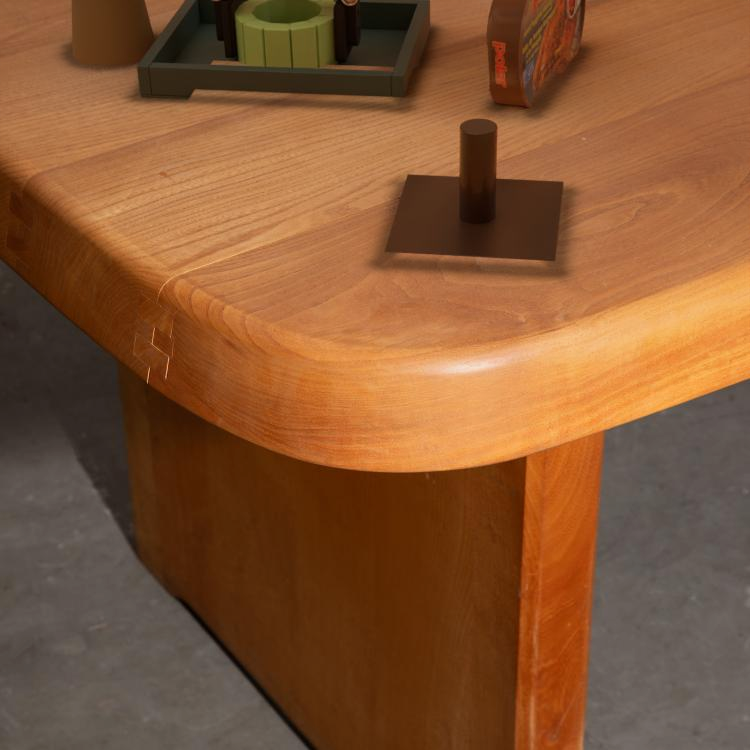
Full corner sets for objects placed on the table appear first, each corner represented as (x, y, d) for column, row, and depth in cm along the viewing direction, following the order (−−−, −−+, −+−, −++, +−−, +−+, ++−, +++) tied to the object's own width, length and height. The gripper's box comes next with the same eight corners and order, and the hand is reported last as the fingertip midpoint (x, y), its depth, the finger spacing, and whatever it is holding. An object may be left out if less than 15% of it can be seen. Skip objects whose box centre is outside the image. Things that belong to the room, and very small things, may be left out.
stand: (562, 199, 83) (568, 94, 80) (554, 280, 76) (559, 168, 72) (407, 192, 85) (406, 88, 81) (384, 270, 77) (381, 160, 74)
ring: (348, 41, 102) (346, -7, 100) (331, 81, 97) (328, 31, 95) (251, 38, 103) (248, -10, 101) (228, 77, 98) (224, 27, 96)
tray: (430, 34, 105) (430, -1, 103) (404, 114, 94) (403, 76, 92) (193, 26, 107) (190, -8, 106) (141, 103, 96) (136, 66, 95)
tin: (524, 133, 91) (529, 3, 86) (477, 126, 92) (478, -3, 87) (587, 45, 102) (594, -74, 97) (544, 40, 103) (549, -78, 98)
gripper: (420, -233, 91) (422, 36, 102) (154, -236, 94) (181, 27, 104) (404, -204, 85) (407, 79, 96) (119, -207, 88) (152, 69, 98)
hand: (289, 50), depth 100 cm, fingers closed on ring, 7 cm apart
